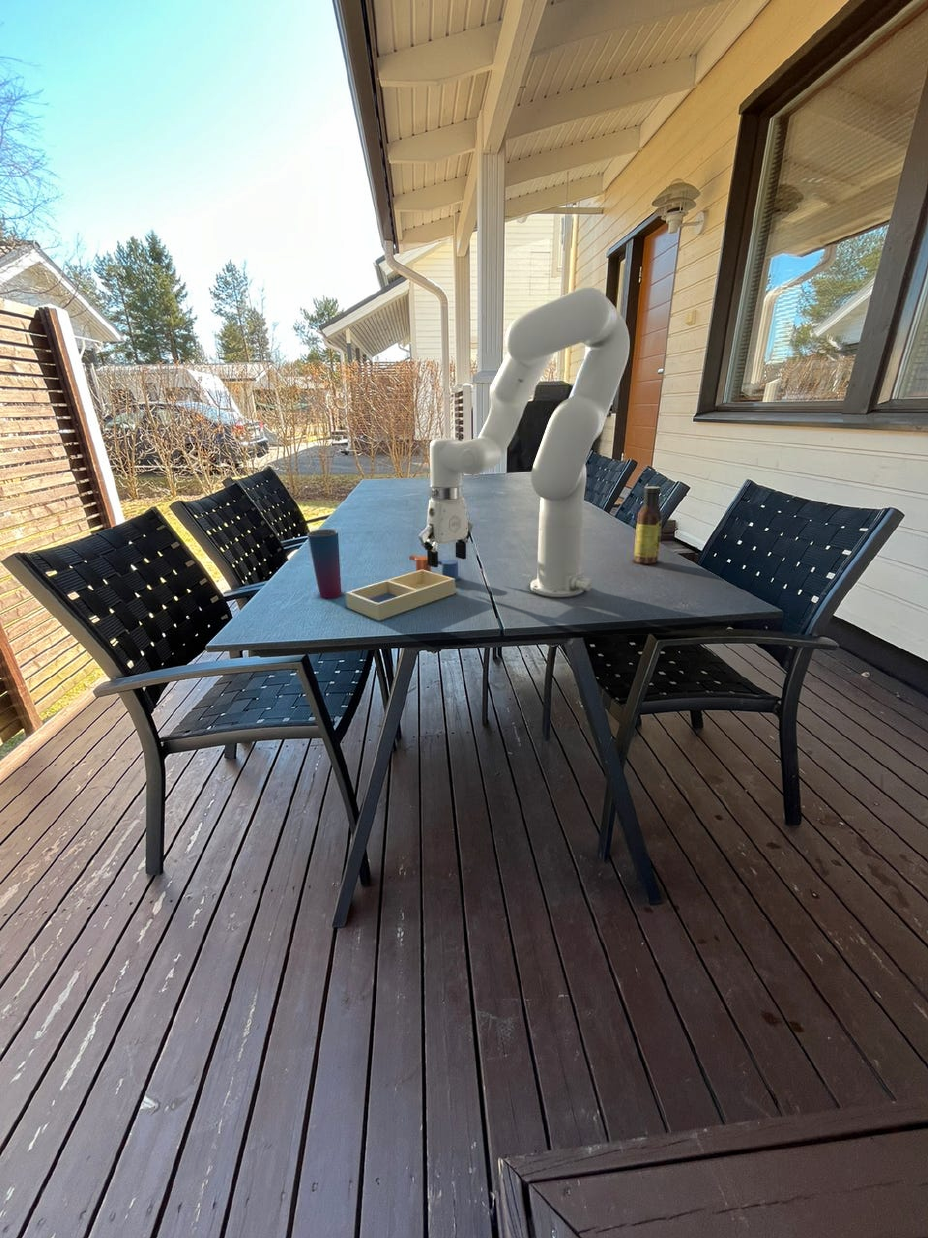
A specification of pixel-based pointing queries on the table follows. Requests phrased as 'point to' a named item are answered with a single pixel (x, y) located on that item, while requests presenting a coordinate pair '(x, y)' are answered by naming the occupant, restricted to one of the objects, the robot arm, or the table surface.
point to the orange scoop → (421, 562)
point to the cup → (326, 561)
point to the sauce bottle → (648, 528)
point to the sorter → (400, 594)
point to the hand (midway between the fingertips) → (447, 562)
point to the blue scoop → (449, 568)
